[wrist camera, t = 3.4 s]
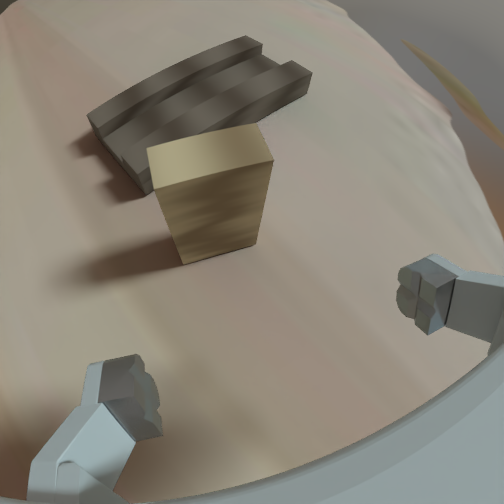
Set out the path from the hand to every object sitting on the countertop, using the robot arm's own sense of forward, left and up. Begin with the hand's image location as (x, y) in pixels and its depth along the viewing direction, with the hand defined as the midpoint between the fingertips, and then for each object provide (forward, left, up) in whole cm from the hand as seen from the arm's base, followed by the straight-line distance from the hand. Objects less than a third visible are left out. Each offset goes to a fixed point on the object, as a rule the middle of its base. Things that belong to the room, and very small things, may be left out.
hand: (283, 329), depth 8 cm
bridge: (+6, +22, -12) cm, 26 cm away
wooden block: (+1, +8, -12) cm, 15 cm away
